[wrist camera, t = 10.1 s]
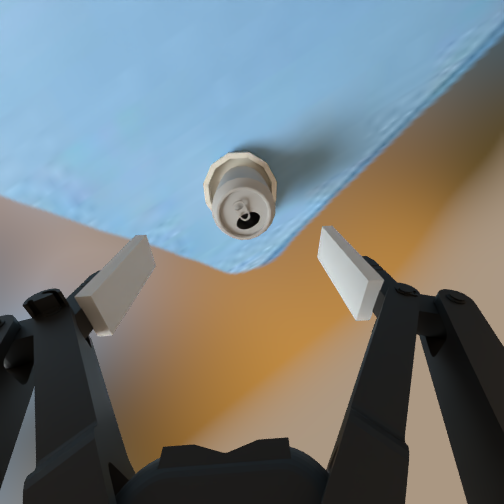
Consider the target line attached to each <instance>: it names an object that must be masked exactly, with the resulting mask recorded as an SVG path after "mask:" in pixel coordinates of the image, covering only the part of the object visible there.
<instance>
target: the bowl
mask: <svg viewBox="0 0 504 504" xmlns="http://www.w3.org/2000/svg"><path fill="white" fill-rule="evenodd" d="M236 166H248V167H251V168H254V169H255V170H257V171H258V172H259V173H260V174H261V175H262V177H263V178H264V180H265V182H266V184H267V185H268V187H269V189H270V191H271V193H272V195H273V198H274V202H276V187H277V181H276V179H275V177H274V175H273V173H272V172H271V170H270V168H269V166H268V164H267V163H266V162H265V161H264V160H262V159H260V158H259V157H257V156H255V155H253V154H252V153H250V152H228V153H227V154H226V155H224V156H223V157H221V158H220V159H218V160H217V161H216V162H214V163H213V164H212V165H211V167H210V169H209V171H208V174H207V176H206V179H205V181H204V183H203V186H204V193H205V201H206V204H207V206H208V207H209V208H210V210H211V211H212V202H213V198H214V195H215V192H216V190H217V187H218V185H219V183H220V180H221V179H222V177H223V175H224V174H225V173H226V172H227V171H228V170H229V169H231V168H234V167H236Z"/></svg>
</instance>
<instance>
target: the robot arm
mask: <svg viewBox="0 0 504 504" xmlns="http://www.w3.org/2000/svg"><path fill="white" fill-rule="evenodd" d="M318 259H319V261H320V262H321V264H322V266H323V267H324V269H325V271H326V272H327V274H328V276H329V277H330V279H331V280H332V282H333V284H334V285H335V287H336V289H337V290H338V292H339V294H340V295H341V297H342V299H343V300H344V302H345V303H346V305H347V307H348V308H349V310H350V311H351V313H352V315H353V317H354V318H355V319H356V321H361V320H370V318H371V315H372V312H373V313H374V314H375V315H376V317H377V319H376V322H375V324H374V327H373V330H372V334H371V337H370V340H369V343H368V346H367V349H366V352H365V355H364V358H363V361H362V365H361V367H360V371H359V374H358V377H357V380H356V383H355V386H354V389H353V392H352V395H351V398H350V401H349V404H348V408H347V410H346V413H345V416H344V419H343V423H342V426H341V428H340V431H339V435H338V438H337V441H336V443H335V446H334V449H333V452H332V455H331V458H330V460H329V463H328V467H327V469H326V470H325V469H324V468H323V467H322V466H321V465H320V464H319V463H318V462H317V461H315V460H314V459H313V458H312V457H310V456H309V455H307V454H305V453H304V452H302V451H300V450H298V449H295V448H292V447H290V446H289V440H288V438H275V439H262V440H256V441H254V442H252V443H249V444H247V445H245V446H242V447H240V448H238V449H235V450H233V451H230V452H228V453H222V452H218V451H215V450H211V449H208V448H204V447H200V446H197V445H182V446H168V447H163V449H162V453H161V457H160V458H159V459H156V460H155V461H153V462H151V463H149V464H148V465H147V466H145V467H144V468H142V469H141V470H140V471H139V472H137V473H136V474H135V471H134V470H133V467H132V466H131V464H130V461H129V459H128V456H127V453H126V450H125V447H124V444H123V440H122V437H121V434H120V431H119V428H118V424H117V421H116V418H115V414H114V411H113V408H112V405H111V402H110V399H109V395H108V392H107V389H106V385H105V382H104V379H103V376H102V372H101V369H100V366H99V363H98V359H97V356H96V353H95V350H94V347H93V343H92V340H91V338H90V337H89V334H90V332H91V331H92V330H93V329H94V331H95V332H96V334H97V336H112V335H113V334H114V332H115V331H116V329H117V328H118V326H119V324H120V322H121V321H122V319H123V318H124V316H125V315H126V313H127V311H128V310H129V308H130V307H131V305H132V303H133V302H134V300H135V299H136V297H137V295H138V294H139V292H140V291H141V289H142V287H143V286H144V284H145V282H146V281H147V279H148V278H149V276H150V275H151V273H152V271H153V270H154V268H155V267H156V265H155V261H154V258H153V255H152V252H151V249H150V245H149V242H148V239H147V236H146V235H136V236H135V237H134V238H133V239H132V240H131V241H130V242H129V243H128V244H127V245H126V246H125V247H124V248H123V249H122V250H121V251H120V252H119V253H118V254H117V255H116V256H115V257H114V258H113V259H112V260H111V261H110V262H109V263H108V264H107V265H106V266H105V267H104V268H103V269H102V270H100V271H97V272H96V273H94V274H92V275H91V276H89V277H88V278H87V279H86V280H85V281H84V283H82V284H81V285H80V286H79V287H78V288H77V289H76V290H75V291H74V292H73V293H72V294H71V295H70V296H69V297H68V298H67V299H65V297H64V295H63V294H62V292H61V291H60V290H59V289H48V290H44V291H41V292H39V293H37V294H34V295H33V296H31V297H30V298H28V299H27V300H26V301H25V302H24V304H23V307H24V308H25V309H26V310H27V312H28V313H29V314H30V316H31V317H32V318H31V319H27V320H23V321H19V322H18V321H17V320H16V318H15V317H14V316H12V315H4V316H0V488H1V485H2V482H3V479H4V476H5V473H6V470H7V467H8V464H9V461H10V458H11V455H12V452H13V449H14V446H15V443H16V440H17V437H18V434H19V431H20V428H21V425H22V422H23V419H24V416H25V413H26V410H27V407H28V404H29V401H30V398H31V395H32V391H33V388H34V386H35V422H36V423H35V424H36V425H35V428H36V469H35V471H34V472H32V473H31V474H30V475H28V476H27V478H26V480H25V482H24V489H23V504H405V497H406V487H407V476H408V465H409V448H408V445H407V444H406V443H405V429H406V421H407V412H408V403H409V394H410V385H411V377H412V368H413V359H414V351H415V342H416V334H418V335H419V336H420V340H421V343H422V347H423V350H424V353H425V357H426V360H427V364H428V367H429V371H430V374H431V378H432V381H433V385H434V388H435V392H436V395H437V399H438V402H439V405H440V409H441V413H442V416H443V420H444V423H445V426H446V430H447V434H448V437H449V441H450V444H451V447H452V451H453V454H454V458H455V461H456V465H457V468H458V471H459V475H460V479H461V482H462V485H463V489H464V493H465V496H466V500H467V503H468V504H504V346H503V345H502V343H501V342H500V341H499V339H498V338H497V336H496V334H495V333H494V331H493V330H492V328H491V327H490V325H489V324H488V322H487V321H486V319H485V317H484V316H483V314H482V313H481V311H480V310H479V308H478V307H477V305H476V304H475V303H474V301H473V300H472V299H471V298H469V297H468V296H466V295H465V294H463V293H460V292H458V291H454V290H447V289H443V290H440V291H439V292H438V294H437V295H436V297H435V296H428V295H422V294H420V293H419V292H418V291H417V290H416V289H415V288H413V287H412V286H409V285H407V284H403V283H397V282H396V281H395V280H394V279H393V278H392V277H391V276H390V275H389V274H388V273H387V272H386V271H385V270H383V268H382V267H381V266H379V264H377V263H376V262H375V261H374V260H372V259H371V258H369V257H367V256H361V255H360V254H359V253H358V252H357V251H356V250H355V249H354V248H353V247H352V246H351V245H350V244H349V243H348V242H347V241H346V240H345V239H344V238H343V237H342V236H341V235H340V234H339V233H338V232H337V231H336V229H334V227H333V226H322V230H321V237H320V244H319V250H318Z"/></svg>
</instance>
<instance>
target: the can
mask: <svg viewBox="0 0 504 504" xmlns="http://www.w3.org/2000/svg"><path fill="white" fill-rule="evenodd" d="M212 215H213V218H214V220H215V223H216V225H217V226H218V227H219V228H220V229H221V230H222V231H223V232H224V233H225V234H227V235H229V236H230V237H232V238H236V239H240V240H248V239H252V238H255V237H257V236H259V235H260V234H262V233H263V232H265V231H266V230H267V229H268V227H269V226H270V225H271V223H272V221H273V218H274V216H275V202H274V198H273V195H272V193H271V191H270V189H269V187H268V185H267V184H266V182H265V180H264V178H263V177H262V175H261V174H260V173H259V172H258V171H257V170H255V169H254V168H251V167H248V166H236V167H234V168H231V169H229V170H228V171H227V172H226V173H225V174H224V175H223V177H222V179H221V180H220V183H219V185H218V187H217V190H216V192H215V195H214V198H213V202H212Z"/></svg>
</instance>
